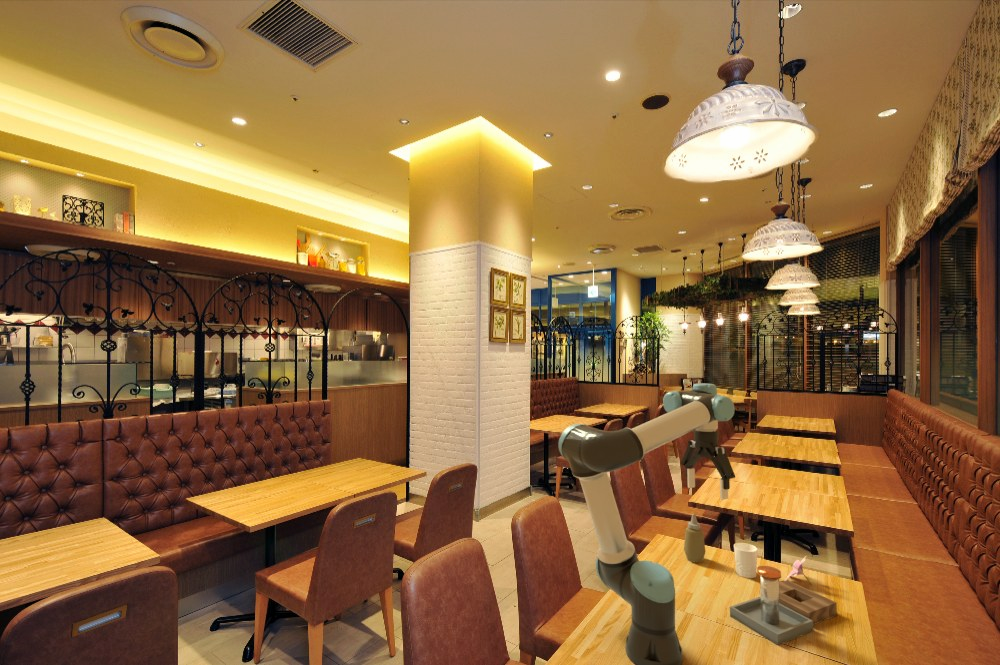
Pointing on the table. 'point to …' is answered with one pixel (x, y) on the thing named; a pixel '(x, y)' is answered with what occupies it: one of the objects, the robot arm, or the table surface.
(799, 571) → the lily
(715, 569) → the table surface
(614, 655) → the table surface
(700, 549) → the squeeze bottle
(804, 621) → the tray
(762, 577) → the copper-capped cylinder
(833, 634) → the table surface
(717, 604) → the table surface
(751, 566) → the white cup
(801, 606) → the socket block
